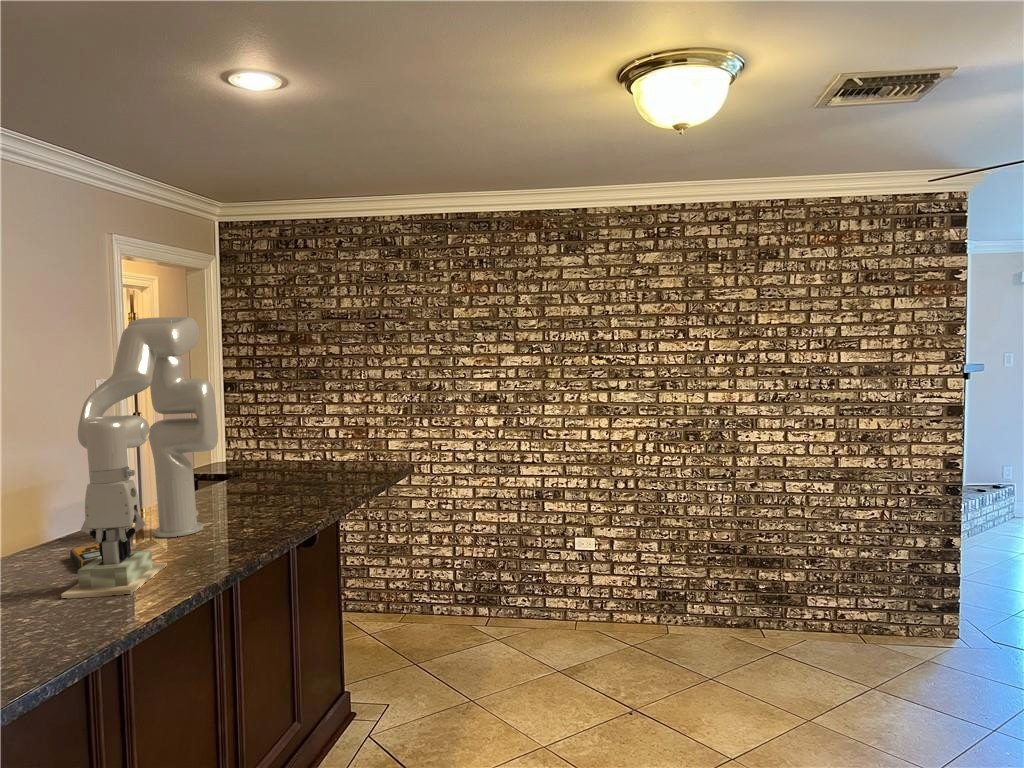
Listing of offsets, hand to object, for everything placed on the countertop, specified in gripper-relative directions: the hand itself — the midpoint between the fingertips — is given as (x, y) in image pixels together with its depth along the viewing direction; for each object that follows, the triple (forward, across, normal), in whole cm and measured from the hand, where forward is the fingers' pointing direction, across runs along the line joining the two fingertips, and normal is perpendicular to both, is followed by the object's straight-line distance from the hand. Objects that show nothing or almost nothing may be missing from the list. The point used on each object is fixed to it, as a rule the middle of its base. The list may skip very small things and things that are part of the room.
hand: (115, 557), depth 156 cm
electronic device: (+6, +13, -17) cm, 22 cm away
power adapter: (+3, 0, 0) cm, 3 cm away
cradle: (+5, 0, 0) cm, 5 cm away
